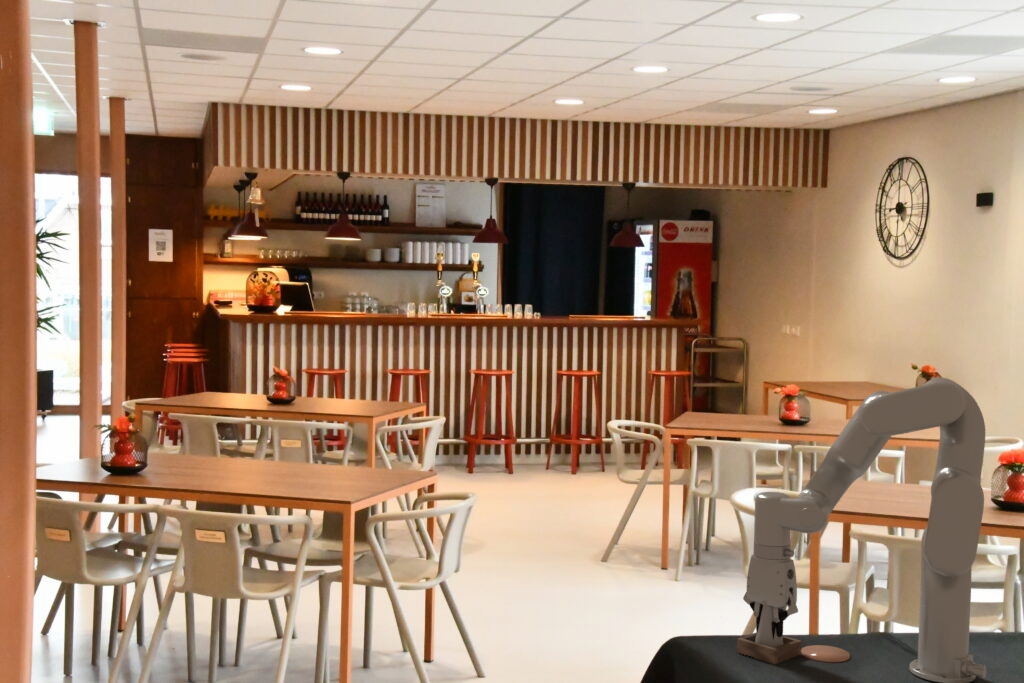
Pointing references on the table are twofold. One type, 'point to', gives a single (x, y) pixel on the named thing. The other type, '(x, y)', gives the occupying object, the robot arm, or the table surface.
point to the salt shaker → (767, 628)
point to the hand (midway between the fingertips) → (769, 636)
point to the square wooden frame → (769, 649)
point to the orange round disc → (825, 653)
